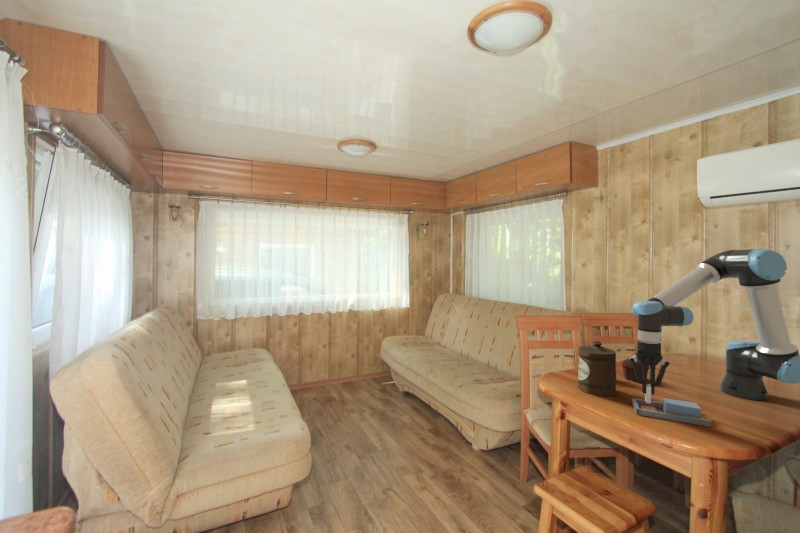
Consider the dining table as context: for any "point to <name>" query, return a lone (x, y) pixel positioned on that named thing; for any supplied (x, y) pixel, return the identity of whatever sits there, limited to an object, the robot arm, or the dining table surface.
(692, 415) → the slate block
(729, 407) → the dining table surface
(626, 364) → the muffin
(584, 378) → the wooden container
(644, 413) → the grey flat frame
